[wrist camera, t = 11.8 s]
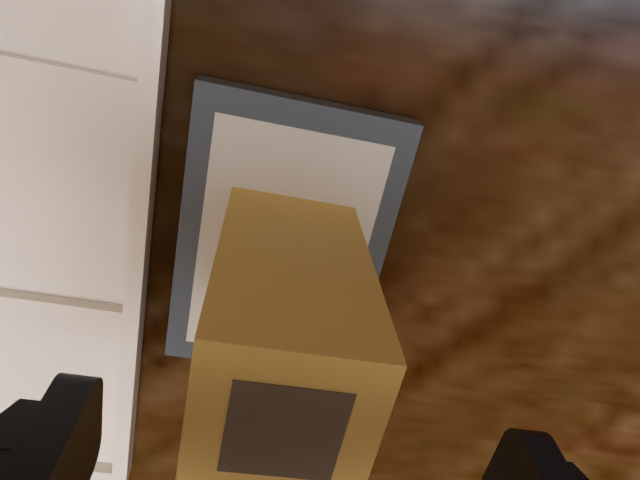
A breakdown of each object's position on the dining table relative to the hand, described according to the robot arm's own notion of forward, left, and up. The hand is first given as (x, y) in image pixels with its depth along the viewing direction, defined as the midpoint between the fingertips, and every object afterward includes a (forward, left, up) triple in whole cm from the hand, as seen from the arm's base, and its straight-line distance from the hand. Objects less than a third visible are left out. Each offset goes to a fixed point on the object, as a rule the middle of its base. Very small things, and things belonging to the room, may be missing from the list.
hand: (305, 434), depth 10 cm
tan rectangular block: (0, 0, -8) cm, 8 cm away
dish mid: (0, -9, -9) cm, 13 cm away
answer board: (0, 0, -9) cm, 9 cm away
